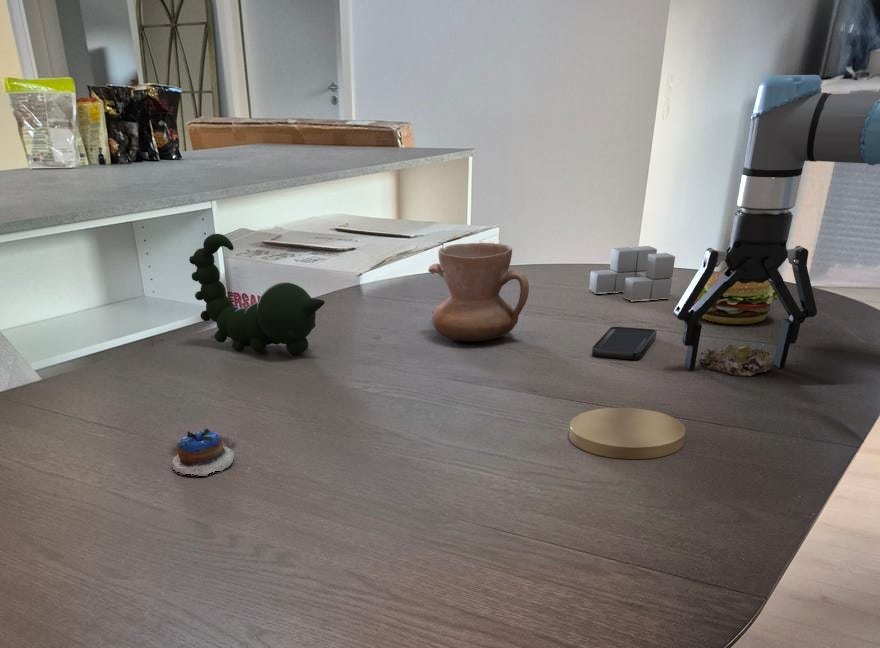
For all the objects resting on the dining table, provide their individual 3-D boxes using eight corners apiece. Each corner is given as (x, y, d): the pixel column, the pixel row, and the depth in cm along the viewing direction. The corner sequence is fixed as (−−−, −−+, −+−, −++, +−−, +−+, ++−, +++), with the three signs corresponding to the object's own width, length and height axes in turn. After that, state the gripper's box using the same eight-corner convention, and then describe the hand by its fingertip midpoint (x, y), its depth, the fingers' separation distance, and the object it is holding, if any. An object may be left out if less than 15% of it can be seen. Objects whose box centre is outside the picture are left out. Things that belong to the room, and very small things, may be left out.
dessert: (193, 442, 106) (208, 408, 102) (234, 475, 107) (251, 444, 103) (154, 470, 101) (168, 435, 97) (197, 505, 101) (213, 473, 97)
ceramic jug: (410, 342, 145) (409, 252, 137) (448, 322, 156) (449, 238, 148) (507, 354, 138) (511, 260, 130) (540, 332, 148) (546, 244, 140)
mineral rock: (780, 348, 128) (774, 346, 121) (774, 378, 129) (767, 378, 123) (707, 343, 132) (697, 341, 126) (702, 372, 134) (692, 371, 127)
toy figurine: (197, 359, 146) (315, 363, 134) (170, 239, 136) (295, 232, 125) (232, 345, 153) (347, 348, 141) (208, 230, 143) (330, 222, 131)
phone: (590, 348, 134) (612, 325, 146) (590, 356, 135) (611, 332, 146) (640, 353, 132) (658, 329, 143) (639, 360, 132) (657, 336, 143)
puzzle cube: (588, 291, 174) (592, 249, 169) (643, 287, 175) (649, 245, 171) (611, 304, 164) (615, 260, 160) (669, 299, 166) (675, 256, 161)
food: (766, 331, 145) (776, 281, 140) (684, 322, 151) (691, 275, 147) (783, 313, 154) (793, 266, 150) (705, 306, 161) (712, 261, 156)
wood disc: (668, 417, 111) (670, 406, 110) (697, 458, 100) (699, 446, 99) (561, 419, 112) (562, 408, 111) (578, 460, 100) (579, 448, 99)
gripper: (844, 203, 119) (807, 357, 131) (667, 208, 120) (646, 360, 132) (868, 211, 113) (826, 372, 125) (680, 216, 113) (657, 375, 125)
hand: (733, 366), depth 128 cm, fingers open, 13 cm apart
